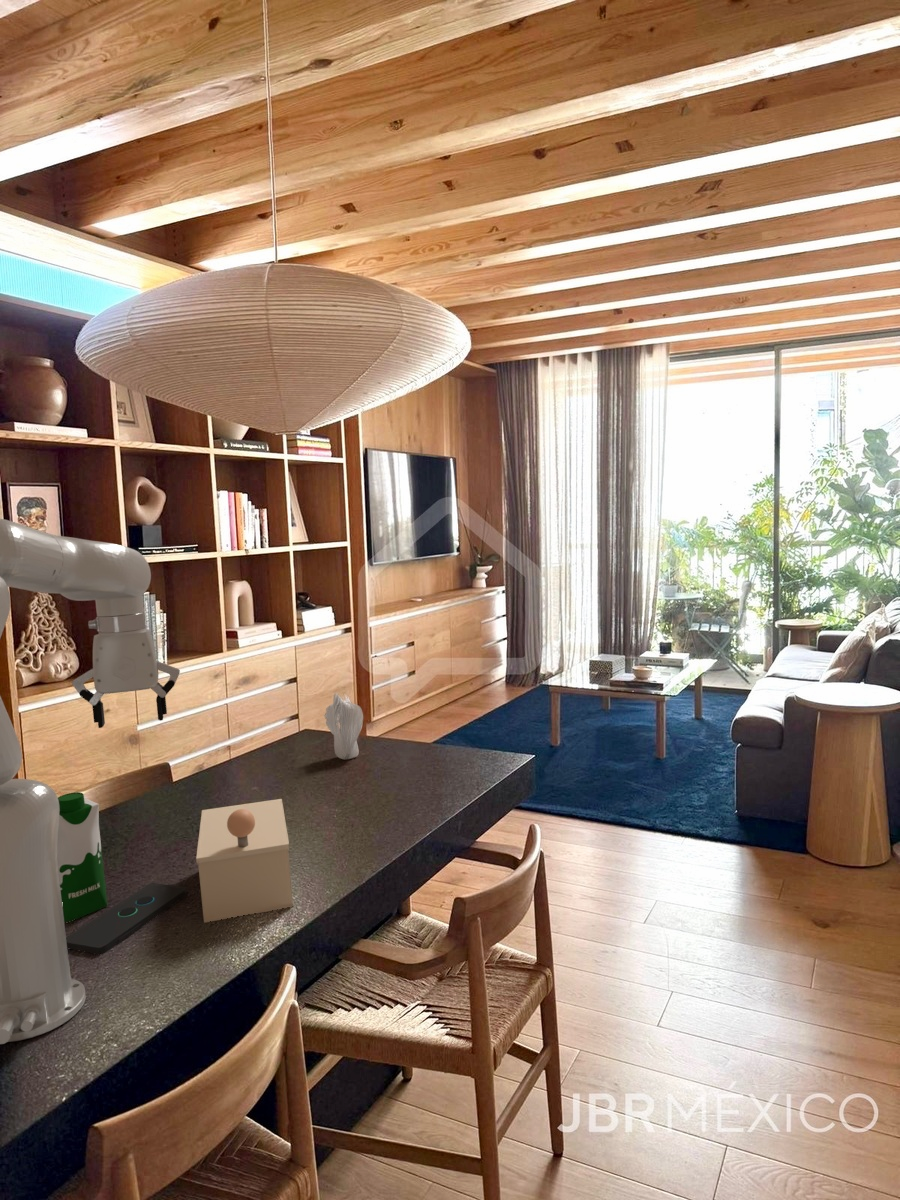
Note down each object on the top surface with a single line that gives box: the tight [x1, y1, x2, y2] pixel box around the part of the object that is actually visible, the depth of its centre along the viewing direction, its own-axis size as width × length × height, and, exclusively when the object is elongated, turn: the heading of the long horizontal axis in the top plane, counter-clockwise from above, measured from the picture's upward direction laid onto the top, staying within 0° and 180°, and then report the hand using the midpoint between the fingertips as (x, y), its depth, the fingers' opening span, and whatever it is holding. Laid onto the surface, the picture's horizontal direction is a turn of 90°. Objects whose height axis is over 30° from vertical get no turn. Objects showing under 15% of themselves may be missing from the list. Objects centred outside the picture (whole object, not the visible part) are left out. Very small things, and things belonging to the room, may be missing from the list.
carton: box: [197, 849, 294, 923], centre depth 140 cm, size 22×14×10 cm, turn 15°
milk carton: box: [57, 791, 108, 923], centre depth 135 cm, size 9×9×20 cm
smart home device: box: [66, 882, 188, 956], centre depth 131 cm, size 8×2×20 cm
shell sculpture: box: [324, 692, 364, 760], centre depth 212 cm, size 8×8×18 cm
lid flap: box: [195, 798, 290, 864], centre depth 139 cm, size 22×14×7 cm, turn 15°
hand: (131, 722), depth 140 cm, fingers open, 9 cm apart
